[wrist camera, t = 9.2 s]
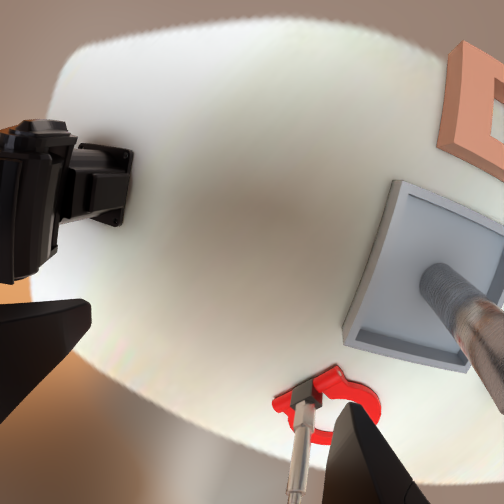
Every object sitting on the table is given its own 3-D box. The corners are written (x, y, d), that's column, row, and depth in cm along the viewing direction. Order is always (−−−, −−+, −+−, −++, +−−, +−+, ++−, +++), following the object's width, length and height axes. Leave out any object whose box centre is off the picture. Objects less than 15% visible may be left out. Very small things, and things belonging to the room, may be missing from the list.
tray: (341, 327, 21) (343, 345, 18) (392, 180, 17) (402, 180, 15) (456, 357, 19) (466, 373, 17) (509, 232, 16) (526, 238, 13)
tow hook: (394, 412, 22) (344, 355, 21) (412, 528, 10) (351, 501, 9) (321, 446, 25) (264, 398, 24) (311, 552, 13) (228, 523, 12)
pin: (411, 289, 18) (488, 404, 7) (436, 254, 17) (540, 342, 6) (437, 309, 18) (512, 421, 7) (461, 277, 17) (557, 369, 6)
